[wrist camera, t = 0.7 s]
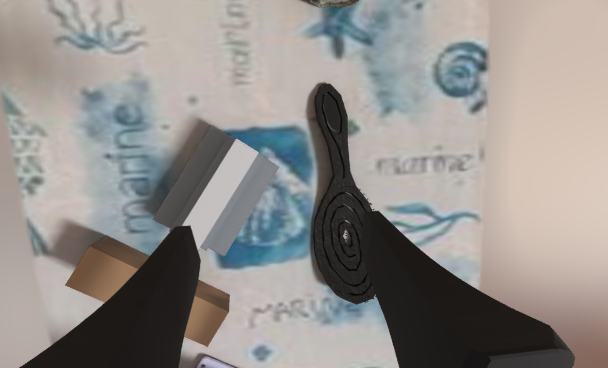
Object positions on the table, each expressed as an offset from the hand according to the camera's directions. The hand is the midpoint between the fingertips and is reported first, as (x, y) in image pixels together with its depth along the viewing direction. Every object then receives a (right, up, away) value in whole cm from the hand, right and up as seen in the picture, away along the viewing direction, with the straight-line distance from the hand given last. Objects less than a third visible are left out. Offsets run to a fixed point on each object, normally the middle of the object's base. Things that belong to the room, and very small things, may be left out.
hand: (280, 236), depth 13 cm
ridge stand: (-8, +2, +20) cm, 21 cm away
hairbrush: (+5, +1, +23) cm, 24 cm away
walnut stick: (-14, -8, +20) cm, 26 cm away
